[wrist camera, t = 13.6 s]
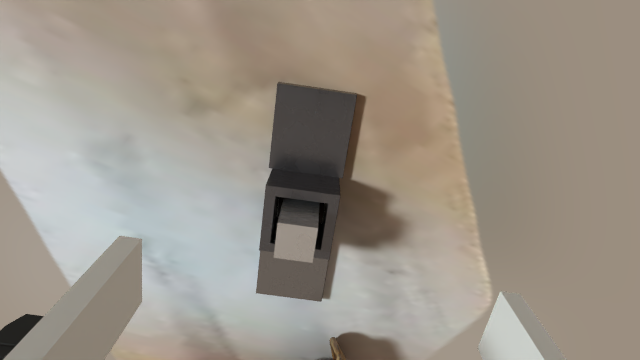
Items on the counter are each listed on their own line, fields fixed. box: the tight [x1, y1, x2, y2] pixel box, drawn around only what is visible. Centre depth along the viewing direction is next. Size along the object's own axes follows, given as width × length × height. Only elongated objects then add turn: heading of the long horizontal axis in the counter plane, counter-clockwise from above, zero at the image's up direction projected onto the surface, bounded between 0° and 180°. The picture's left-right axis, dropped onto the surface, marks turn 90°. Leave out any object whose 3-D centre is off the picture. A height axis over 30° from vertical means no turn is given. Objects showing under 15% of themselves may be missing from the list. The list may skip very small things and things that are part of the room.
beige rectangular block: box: [274, 198, 319, 263], centre depth 41 cm, size 4×4×10 cm
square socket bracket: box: [256, 82, 357, 301], centre depth 43 cm, size 25×8×6 cm, turn 172°
